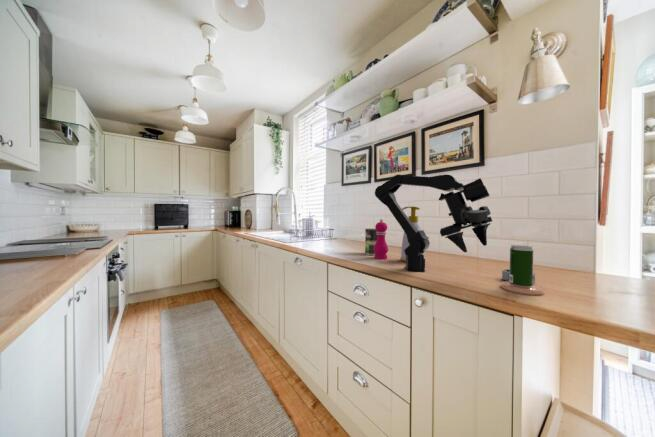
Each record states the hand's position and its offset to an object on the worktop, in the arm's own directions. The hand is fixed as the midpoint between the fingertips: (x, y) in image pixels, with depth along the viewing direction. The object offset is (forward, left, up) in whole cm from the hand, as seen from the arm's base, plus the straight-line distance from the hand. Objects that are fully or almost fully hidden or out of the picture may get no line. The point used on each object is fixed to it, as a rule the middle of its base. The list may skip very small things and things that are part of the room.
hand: (475, 248), depth 81 cm
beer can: (+7, -11, -10) cm, 16 cm away
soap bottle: (-14, +29, -11) cm, 34 cm away
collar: (+13, -1, -11) cm, 17 cm away
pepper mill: (-28, +35, -11) cm, 46 cm away
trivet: (+7, -11, -11) cm, 17 cm away
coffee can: (-30, +47, -11) cm, 57 cm away
